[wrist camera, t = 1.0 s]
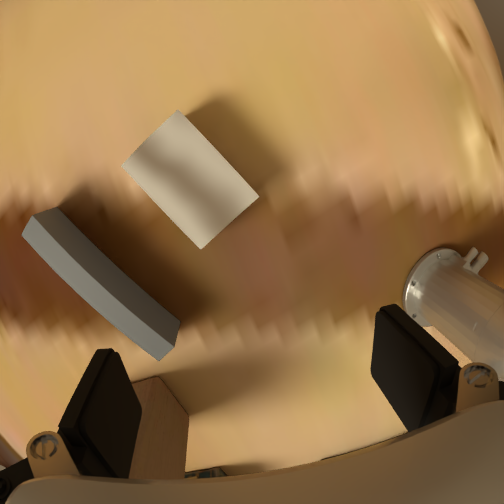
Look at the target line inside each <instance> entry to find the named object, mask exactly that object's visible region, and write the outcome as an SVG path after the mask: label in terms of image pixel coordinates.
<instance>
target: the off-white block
mask: <svg viewBox="0 0 504 504" xmlns="http://www.w3.org/2000/svg"><path fill="white" fill-rule="evenodd" d="M121 166H122V167H123V169H124V170H125V171H126V172H127V173H128V174H129V175H130V176H131V177H132V178H133V179H134V180H135V181H136V183H137V184H138V185H139V186H140V187H141V188H142V189H143V190H144V191H145V192H146V193H147V194H148V195H149V196H150V197H151V199H152V200H153V201H154V202H155V203H156V204H157V205H158V206H159V207H160V208H161V209H162V210H163V211H164V212H165V213H166V214H167V215H168V216H169V217H170V218H171V220H172V221H173V222H174V223H175V224H176V225H177V226H178V227H179V228H180V229H181V230H182V231H183V232H184V233H185V234H186V235H187V236H188V237H189V238H190V239H191V240H192V241H193V242H194V243H195V244H196V245H197V246H198V247H199V248H200V249H202V248H203V247H204V246H205V245H206V244H207V243H208V242H210V241H211V240H212V239H213V238H214V237H215V236H216V235H217V234H218V233H219V232H220V231H222V230H223V229H224V228H225V227H226V226H227V225H228V224H229V223H230V222H231V221H233V220H234V219H235V218H236V217H237V216H238V215H239V214H240V213H241V212H243V211H244V210H245V209H246V208H247V207H248V206H249V205H250V204H252V203H253V202H254V201H255V200H256V199H257V198H258V197H259V196H258V194H257V193H256V192H255V191H254V190H253V189H252V188H251V187H250V186H249V184H248V183H247V182H246V181H245V180H244V179H243V178H242V177H241V176H240V175H239V173H238V172H237V171H236V170H235V169H234V168H233V167H232V166H231V165H230V164H229V163H228V162H227V160H226V159H225V158H224V157H223V156H222V155H221V154H220V153H219V152H218V151H217V150H216V149H215V148H214V146H213V145H212V144H211V143H210V142H209V141H208V140H207V139H206V138H205V137H204V136H203V135H202V134H201V133H200V132H199V131H198V130H197V129H196V127H195V126H194V125H193V124H192V123H191V122H190V121H189V120H188V119H187V118H186V117H185V116H184V115H183V114H182V113H181V112H180V111H179V110H177V111H176V112H175V113H174V114H172V115H171V116H170V117H169V118H168V119H167V120H166V121H165V122H164V123H163V124H162V125H161V126H160V127H159V128H158V129H157V130H155V131H154V132H153V133H152V134H151V135H150V136H149V137H148V138H147V139H146V140H145V141H144V142H143V143H142V144H141V145H140V146H139V147H138V148H137V149H136V150H135V152H134V153H133V154H132V155H131V156H130V157H129V158H128V159H127V160H126V161H125V162H124V163H123V164H122V165H121Z"/></svg>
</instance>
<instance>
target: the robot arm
mask: <svg viewBox="0 0 504 504" xmlns="http://www.w3.org/2000/svg"><path fill="white" fill-rule="evenodd" d="M477 254H478V251H477V249H476V248H474V247H472V248H471V249H470V250H469V252H468V253H467V255H466V256H465V257H462V256H461V255H460V254H459V253H457V252H456V251H454V250H452V249H449V248H437V249H434V250H432V251H430V252H428V253H427V254H425V255H424V256H423V257H422V258H421V259H420V260H419V261H418V262H417V263H416V264H415V266H414V267H413V269H412V270H411V272H410V274H409V276H408V278H407V281H406V284H405V287H404V292H403V307H404V310H405V311H403V310H402V309H401V308H400V307H399V306H398V305H397V304H391V305H387V306H383V307H381V308H380V310H379V312H377V313H376V316H375V330H374V341H373V352H372V361H371V375H372V377H373V379H374V380H375V382H376V383H377V385H378V386H379V388H380V389H381V391H382V392H383V394H384V395H385V397H386V398H387V400H388V401H389V403H390V404H391V406H392V407H393V409H394V410H395V412H396V413H397V415H398V416H399V418H400V420H401V421H402V423H403V424H404V426H405V427H406V429H407V430H408V432H409V433H406V434H403V435H401V436H398V437H395V438H393V439H390V440H387V441H384V442H381V443H379V444H376V445H373V446H370V447H367V448H363V449H360V450H357V451H354V452H350V453H347V454H343V455H340V456H336V457H332V458H329V459H325V460H321V461H316V462H312V463H308V464H303V465H299V466H294V467H289V468H283V469H278V470H272V471H266V472H259V473H252V474H245V475H236V476H226V477H215V478H201V479H174V480H156V479H129V474H130V468H131V463H132V458H133V453H134V449H135V444H136V439H137V434H138V430H139V425H140V421H141V417H142V407H141V404H140V402H139V400H138V397H137V395H136V393H135V391H134V388H133V386H132V384H131V382H130V379H129V377H128V374H127V372H126V370H125V367H124V365H123V362H122V360H121V357H120V355H119V353H118V352H115V351H114V350H113V349H112V348H109V349H97V350H96V352H95V354H94V356H93V357H92V359H91V361H90V363H89V365H88V367H87V369H86V371H85V372H84V374H83V376H82V378H81V380H80V382H79V384H78V386H77V388H76V390H75V392H74V394H73V396H72V398H71V400H70V402H69V404H68V406H67V408H66V410H65V412H64V414H63V416H62V419H61V421H60V423H59V425H58V427H59V430H58V432H57V433H55V432H52V431H44V432H41V433H38V434H37V435H35V436H33V437H32V438H31V439H30V441H29V442H28V444H27V448H26V454H27V458H25V459H23V460H21V461H19V462H18V463H16V464H14V465H12V466H10V467H8V468H6V469H4V470H2V471H0V504H504V382H503V381H498V378H504V289H502V288H501V287H499V286H497V285H495V284H494V283H492V282H490V281H488V280H486V279H485V278H483V277H481V276H479V275H478V272H479V270H480V269H481V268H482V267H483V266H484V265H485V264H486V262H487V261H488V256H487V255H486V254H485V253H484V252H482V251H481V252H480V253H479V254H478V255H477ZM476 255H477V257H476V258H475V256H476ZM474 258H475V259H474ZM473 259H474V261H473V263H472V264H471V265H470V262H471V261H472V260H473ZM421 326H422V327H429V326H434V327H435V328H436V329H437V330H438V331H439V332H440V333H441V334H443V335H444V336H445V337H446V338H447V339H448V340H449V341H450V342H451V343H452V344H454V345H455V346H456V347H457V348H458V349H459V350H460V351H461V352H462V353H463V354H464V355H465V356H467V357H468V358H469V359H470V360H471V361H472V362H473V363H469V364H467V365H465V366H464V367H463V368H461V367H460V366H459V365H458V363H459V361H458V360H457V359H456V358H454V357H453V356H452V355H451V354H450V353H449V352H448V351H447V350H446V349H445V348H444V347H443V346H442V345H441V344H440V343H439V342H437V341H436V340H435V339H434V338H433V337H432V336H431V335H430V334H429V333H428V332H427V331H426V330H424V329H423V328H422V327H421Z"/></svg>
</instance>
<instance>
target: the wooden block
mask: <svg viewBox="0 0 504 504" xmlns="http://www.w3.org/2000/svg"><path fill="white" fill-rule="evenodd" d="M132 386H133V388H134V391H135V393H136V395H137V397H138V400H139V402H140V404H141V407H142V417H141V421H140V425H139V430H138V434H137V439H136V444H135V449H134V453H133V458H132V463H131V468H130V474H129V479H156V480H174V479H184V477H185V463H186V451H187V439H188V428H189V416H188V414H187V413H186V412H185V410H184V409H183V408H182V407H181V405H180V404H179V403H178V401H177V400H176V399H175V397H174V396H173V395H172V393H171V392H170V391H169V389H168V388H167V387H166V385H165V384H164V382H163V381H162V380H161V379H160V378H159V377H154V378H150V379H147V380H143V381H140V382H136V383H133V384H132Z"/></svg>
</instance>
